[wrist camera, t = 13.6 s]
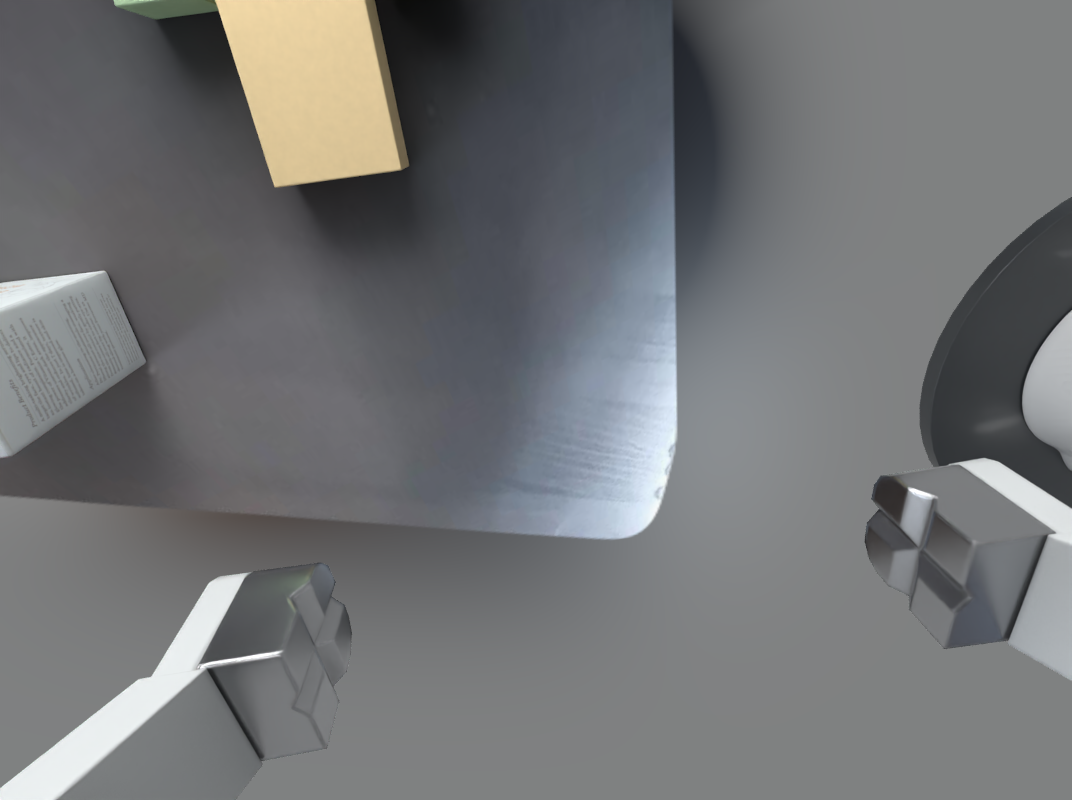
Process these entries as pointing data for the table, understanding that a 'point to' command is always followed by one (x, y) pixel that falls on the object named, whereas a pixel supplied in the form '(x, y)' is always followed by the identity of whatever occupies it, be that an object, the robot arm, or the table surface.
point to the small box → (58, 352)
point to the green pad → (167, 7)
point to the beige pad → (316, 87)
